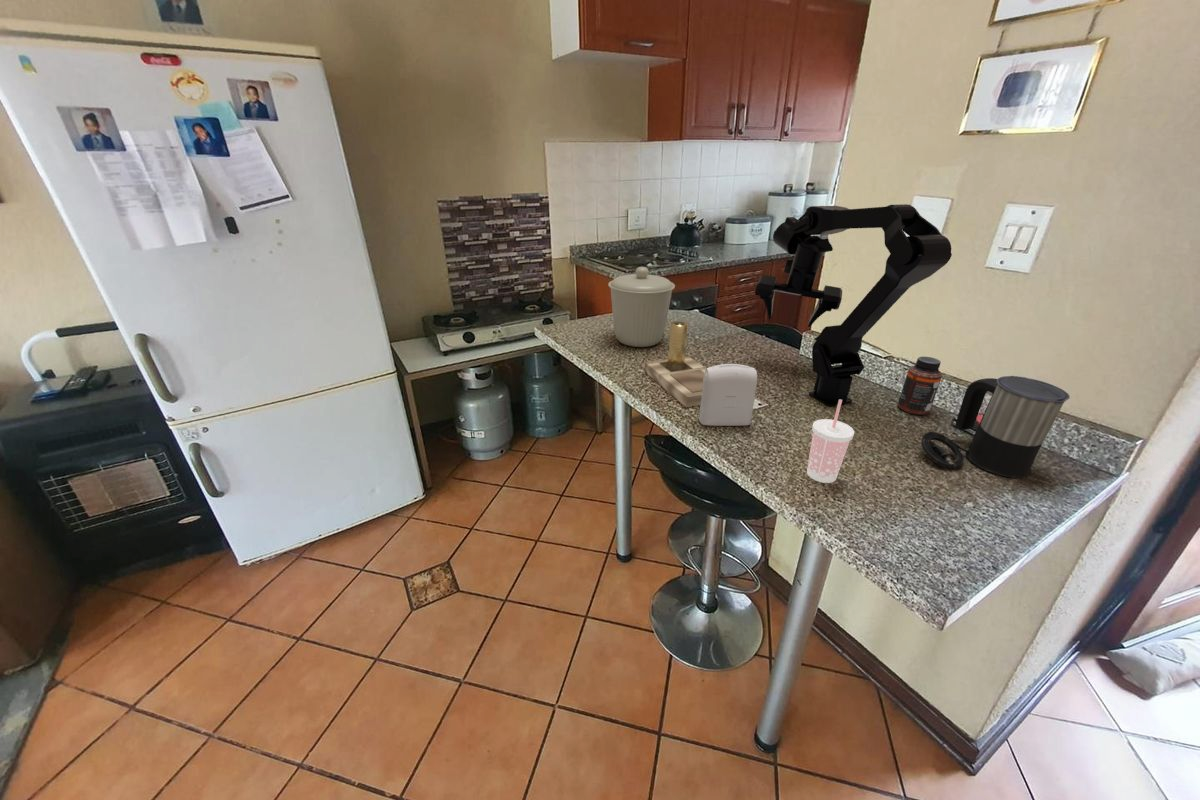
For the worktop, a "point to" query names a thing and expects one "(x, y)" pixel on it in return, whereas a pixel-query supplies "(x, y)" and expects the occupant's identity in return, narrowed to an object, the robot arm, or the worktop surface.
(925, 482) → the worktop surface
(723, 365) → the photo printer
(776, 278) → the robot arm
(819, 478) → the beverage cup
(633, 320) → the canister
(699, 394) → the jig plate
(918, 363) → the supplement bottle
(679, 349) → the cylinder
